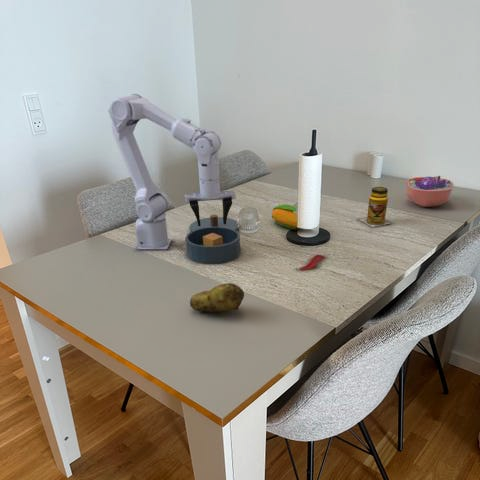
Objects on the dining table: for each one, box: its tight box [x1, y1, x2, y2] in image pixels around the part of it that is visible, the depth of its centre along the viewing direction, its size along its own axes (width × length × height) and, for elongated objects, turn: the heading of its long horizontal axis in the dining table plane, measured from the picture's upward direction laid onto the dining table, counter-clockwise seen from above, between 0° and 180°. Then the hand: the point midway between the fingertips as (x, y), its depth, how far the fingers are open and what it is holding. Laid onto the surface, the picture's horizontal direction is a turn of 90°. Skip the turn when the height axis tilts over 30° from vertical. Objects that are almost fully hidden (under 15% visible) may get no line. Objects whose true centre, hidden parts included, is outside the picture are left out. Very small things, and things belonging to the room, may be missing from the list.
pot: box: [185, 227, 241, 265], centre depth 143 cm, size 16×16×5 cm
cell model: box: [405, 175, 455, 208], centre depth 176 cm, size 17×20×11 cm
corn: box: [271, 203, 297, 231], centre depth 159 cm, size 7×8×20 cm
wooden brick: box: [203, 233, 223, 246], centre depth 143 cm, size 4×5×5 cm
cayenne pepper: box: [298, 254, 326, 271], centre depth 135 cm, size 12×5×2 cm, turn 128°
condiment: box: [358, 186, 391, 228], centre depth 161 cm, size 7×8×12 cm
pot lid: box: [189, 214, 240, 232], centre depth 161 cm, size 17×17×4 cm
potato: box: [189, 282, 245, 313], centre depth 112 cm, size 8×13×8 cm, turn 57°
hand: (211, 224), depth 140 cm, fingers open, 7 cm apart
